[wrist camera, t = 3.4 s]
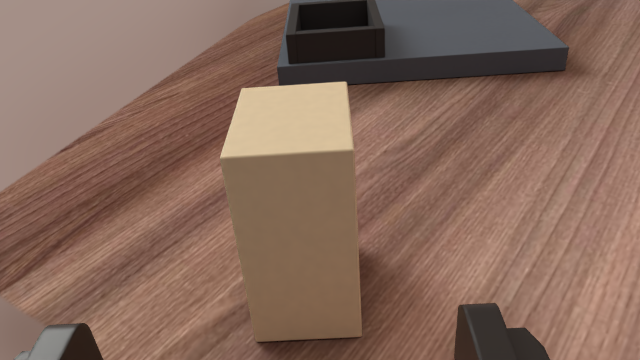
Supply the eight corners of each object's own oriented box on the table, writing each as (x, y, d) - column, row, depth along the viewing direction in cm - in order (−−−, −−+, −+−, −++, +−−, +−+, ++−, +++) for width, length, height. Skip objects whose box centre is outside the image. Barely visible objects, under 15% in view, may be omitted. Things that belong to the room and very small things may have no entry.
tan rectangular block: (255, 342, 23) (219, 157, 18) (267, 251, 28) (241, 87, 23) (362, 337, 22) (354, 149, 18) (354, 246, 28) (346, 80, 23)
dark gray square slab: (279, 89, 46) (273, 37, 44) (291, 15, 65) (288, -24, 63) (565, 70, 45) (574, 16, 43) (491, 1, 65) (495, -39, 62)
